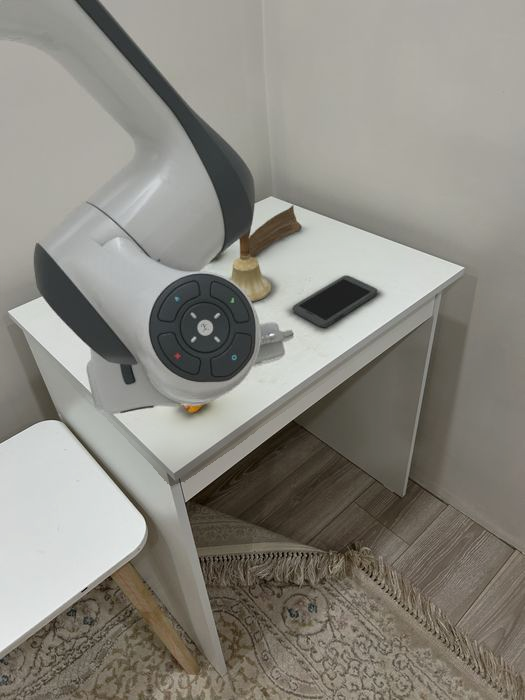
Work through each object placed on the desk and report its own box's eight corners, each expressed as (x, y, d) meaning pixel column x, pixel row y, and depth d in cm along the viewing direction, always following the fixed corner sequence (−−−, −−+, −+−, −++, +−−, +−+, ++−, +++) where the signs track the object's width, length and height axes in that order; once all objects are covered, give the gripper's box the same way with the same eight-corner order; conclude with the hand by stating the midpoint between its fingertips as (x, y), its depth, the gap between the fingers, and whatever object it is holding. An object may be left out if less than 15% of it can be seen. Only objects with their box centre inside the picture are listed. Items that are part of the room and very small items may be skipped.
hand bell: (248, 272, 100) (241, 188, 90) (281, 287, 96) (277, 201, 85) (214, 291, 96) (203, 205, 86) (246, 308, 91) (238, 220, 81)
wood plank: (255, 261, 103) (253, 237, 100) (247, 258, 104) (245, 234, 101) (301, 229, 112) (300, 206, 109) (292, 226, 113) (292, 204, 110)
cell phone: (379, 293, 92) (379, 289, 92) (323, 329, 85) (323, 325, 85) (346, 277, 97) (346, 274, 96) (290, 310, 90) (290, 307, 89)
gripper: (289, 298, 52) (263, 324, 66) (71, 350, 48) (91, 366, 61) (307, 362, 52) (277, 374, 65) (88, 420, 47) (105, 420, 61)
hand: (185, 371), depth 63 cm, fingers open, 8 cm apart
